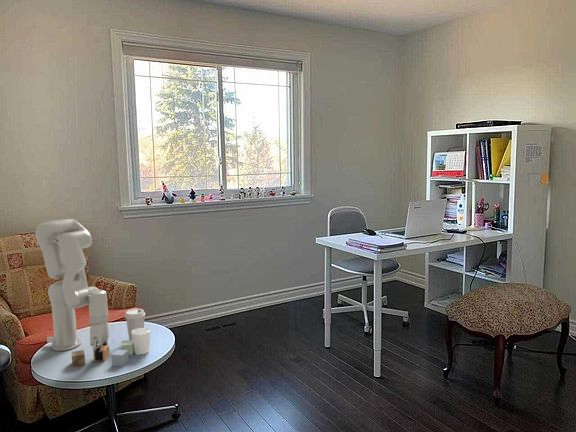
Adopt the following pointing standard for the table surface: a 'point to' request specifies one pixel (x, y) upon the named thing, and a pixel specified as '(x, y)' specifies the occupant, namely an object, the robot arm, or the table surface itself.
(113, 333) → the table surface
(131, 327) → the coffee cup
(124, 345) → the sage block
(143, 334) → the white cup
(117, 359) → the slate block
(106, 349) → the terracotta block
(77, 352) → the walnut block
